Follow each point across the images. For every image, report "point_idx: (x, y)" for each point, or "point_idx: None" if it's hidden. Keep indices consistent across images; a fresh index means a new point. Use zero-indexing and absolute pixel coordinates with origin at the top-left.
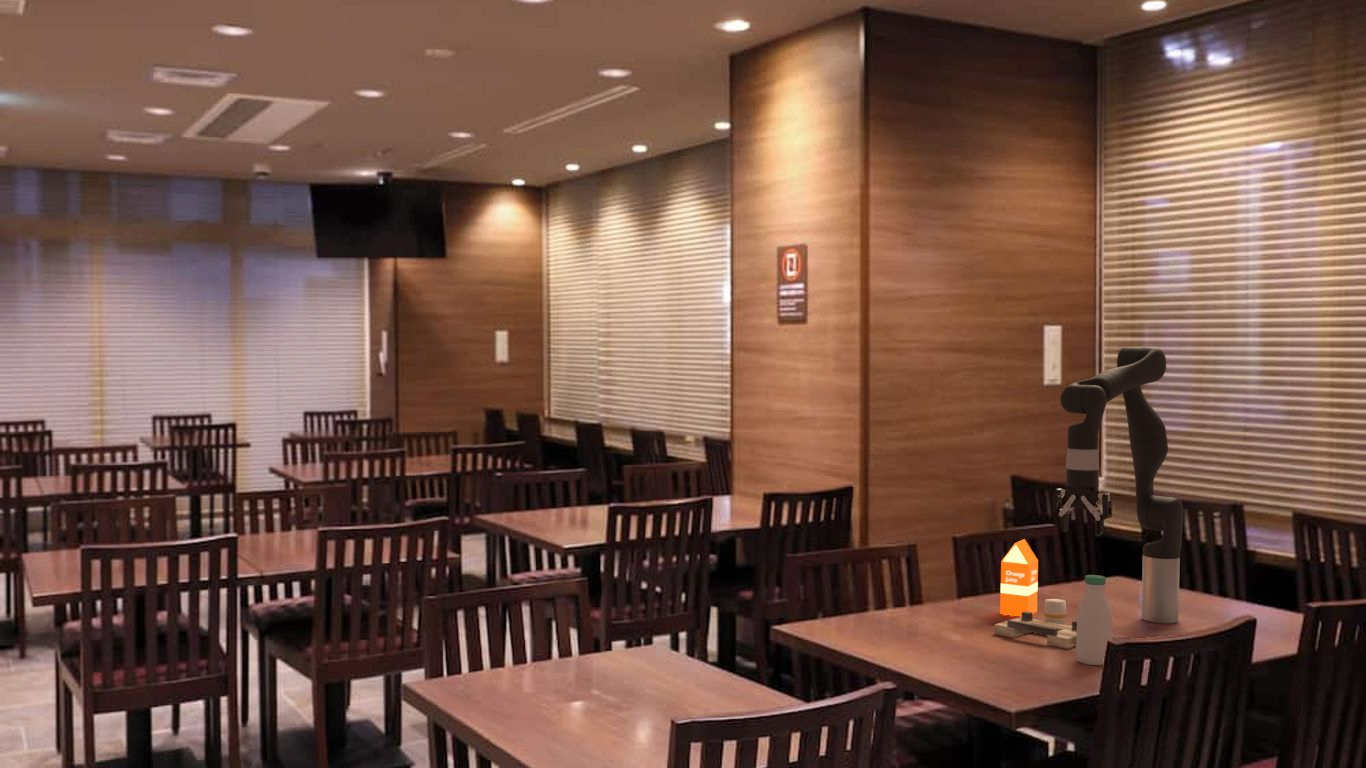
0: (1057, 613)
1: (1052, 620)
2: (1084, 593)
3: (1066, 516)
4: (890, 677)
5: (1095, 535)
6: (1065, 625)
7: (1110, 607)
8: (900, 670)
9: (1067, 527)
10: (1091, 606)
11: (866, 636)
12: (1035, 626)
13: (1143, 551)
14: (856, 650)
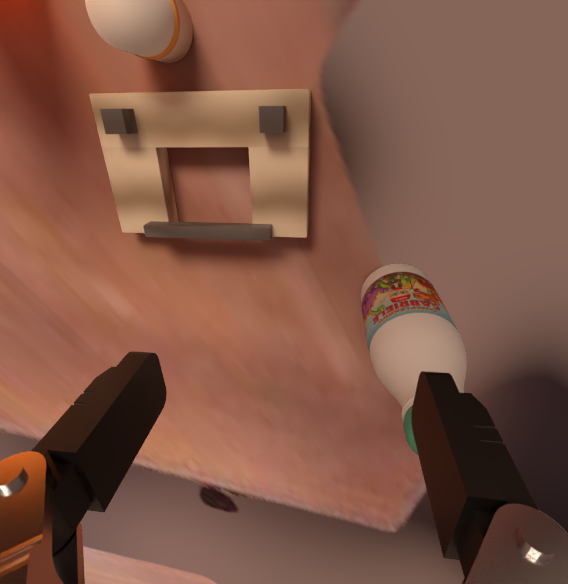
0: (165, 46)
1: (164, 58)
2: (399, 403)
3: (77, 476)
4: (223, 504)
5: (414, 418)
6: (226, 97)
7: (465, 355)
8: (210, 481)
9: (143, 384)
10: None
11: (47, 384)
12: (218, 238)
13: None
14: None
